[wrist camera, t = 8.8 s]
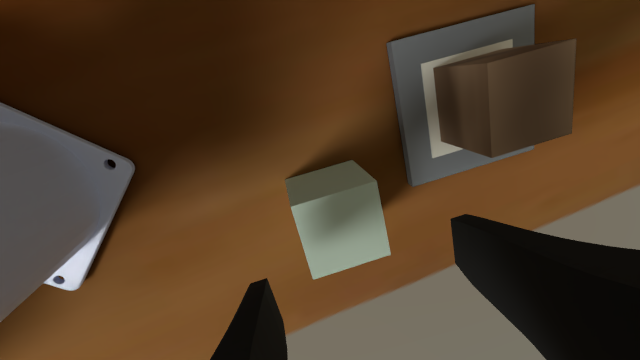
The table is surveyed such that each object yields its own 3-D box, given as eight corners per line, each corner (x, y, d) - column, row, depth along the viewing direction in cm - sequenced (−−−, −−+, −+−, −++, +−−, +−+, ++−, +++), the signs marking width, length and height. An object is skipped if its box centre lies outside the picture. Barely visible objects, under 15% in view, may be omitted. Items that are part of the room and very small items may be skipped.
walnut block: (441, 141, 17) (491, 158, 13) (433, 68, 15) (487, 63, 12) (504, 122, 17) (571, 133, 13) (502, 49, 16) (576, 38, 12)
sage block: (303, 239, 18) (313, 279, 14) (284, 179, 17) (290, 206, 13) (365, 219, 18) (390, 254, 15) (352, 159, 17) (376, 180, 13)
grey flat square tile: (408, 183, 18) (413, 187, 17) (386, 43, 15) (391, 41, 15) (525, 147, 19) (535, 149, 18) (525, 6, 16) (536, 3, 15)
